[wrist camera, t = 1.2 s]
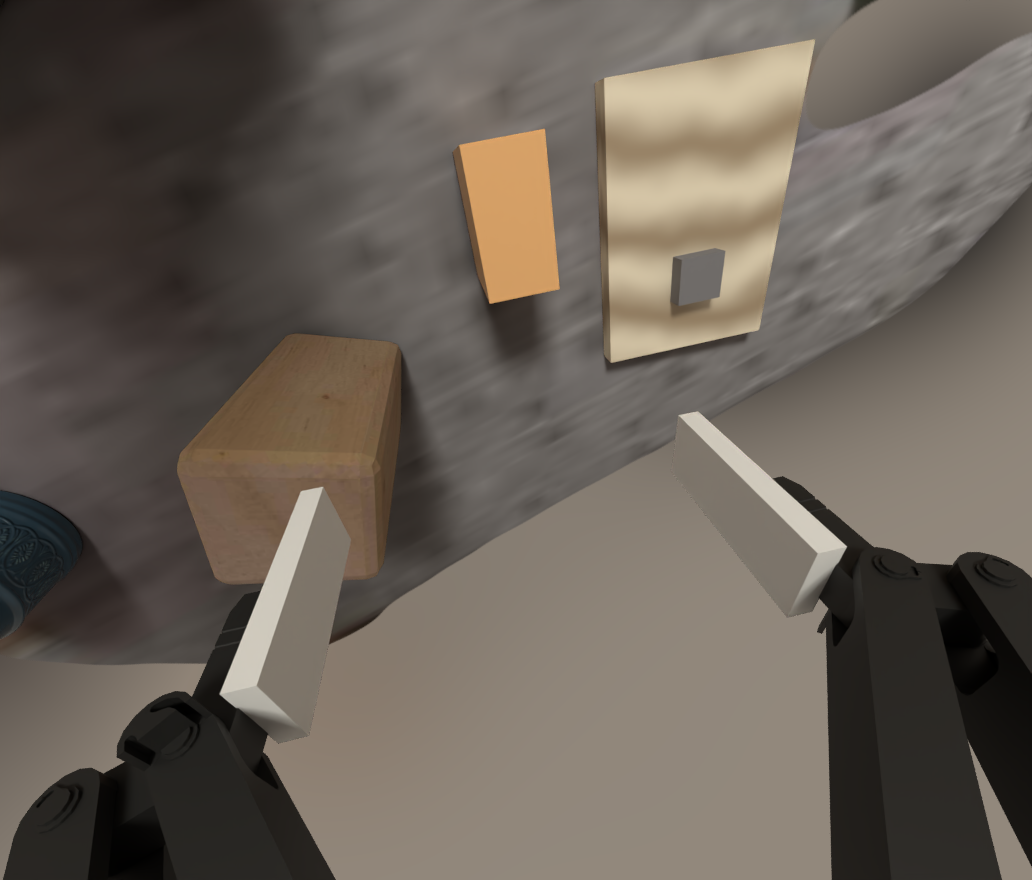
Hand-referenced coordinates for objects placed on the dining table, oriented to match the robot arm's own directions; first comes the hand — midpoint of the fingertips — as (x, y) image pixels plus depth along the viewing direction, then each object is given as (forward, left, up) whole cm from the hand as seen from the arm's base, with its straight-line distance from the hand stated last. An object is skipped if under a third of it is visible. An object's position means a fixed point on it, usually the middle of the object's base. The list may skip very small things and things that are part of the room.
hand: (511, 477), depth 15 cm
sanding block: (-6, +4, -27) cm, 28 cm away
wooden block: (+6, -13, -27) cm, 30 cm away
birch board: (-2, +21, -27) cm, 34 cm away
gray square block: (+2, +21, -25) cm, 32 cm away
